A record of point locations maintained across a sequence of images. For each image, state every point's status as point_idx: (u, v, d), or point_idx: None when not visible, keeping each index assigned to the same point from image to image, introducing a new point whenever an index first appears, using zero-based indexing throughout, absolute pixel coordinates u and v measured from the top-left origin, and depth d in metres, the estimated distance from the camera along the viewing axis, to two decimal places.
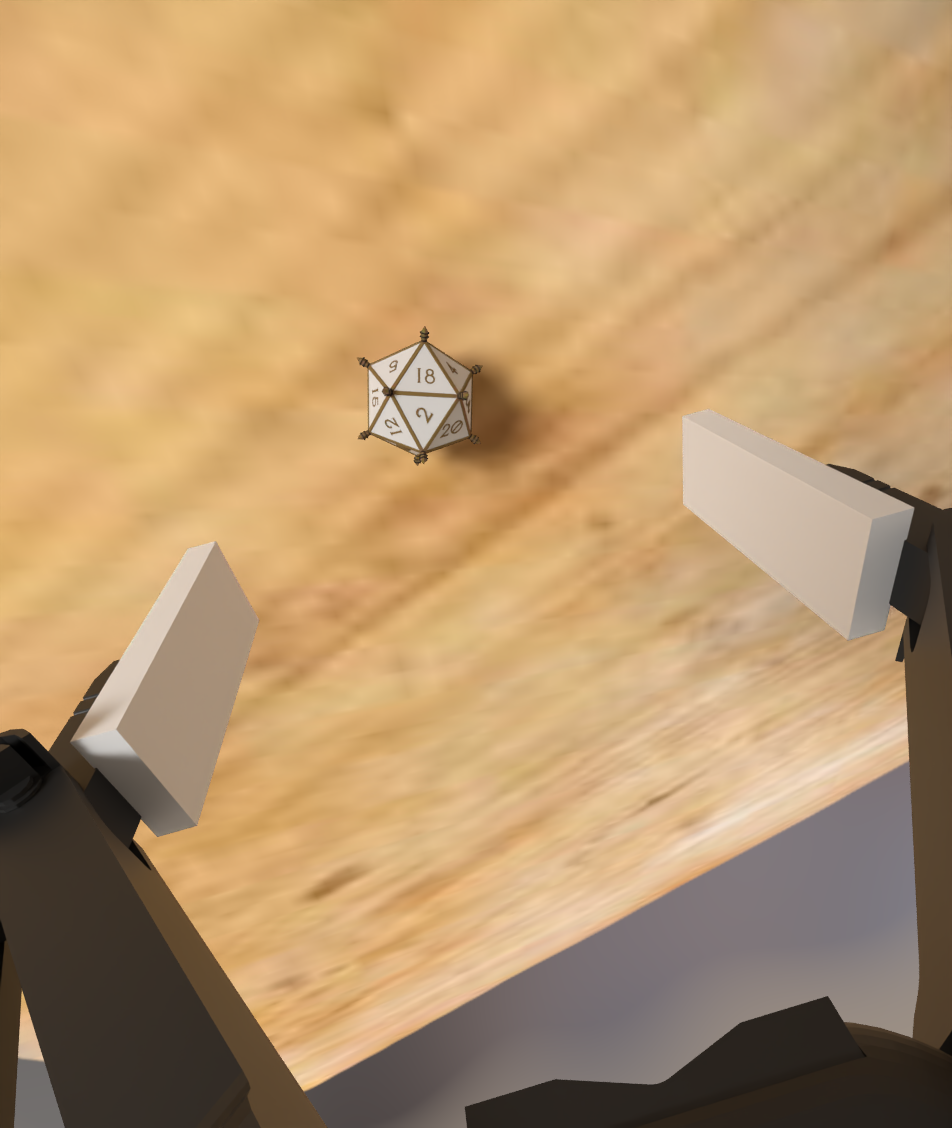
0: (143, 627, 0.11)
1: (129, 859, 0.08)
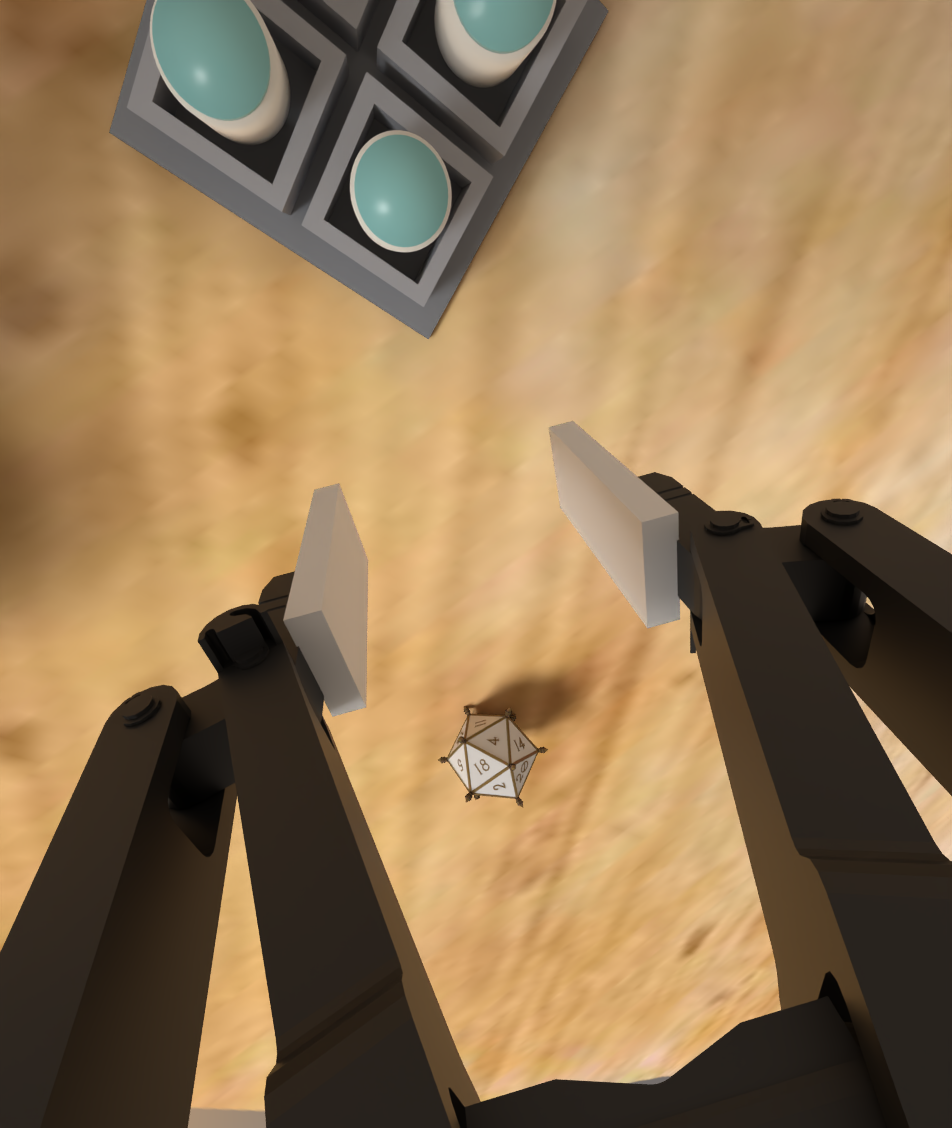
0: (302, 545, 0.13)
1: (323, 736, 0.09)
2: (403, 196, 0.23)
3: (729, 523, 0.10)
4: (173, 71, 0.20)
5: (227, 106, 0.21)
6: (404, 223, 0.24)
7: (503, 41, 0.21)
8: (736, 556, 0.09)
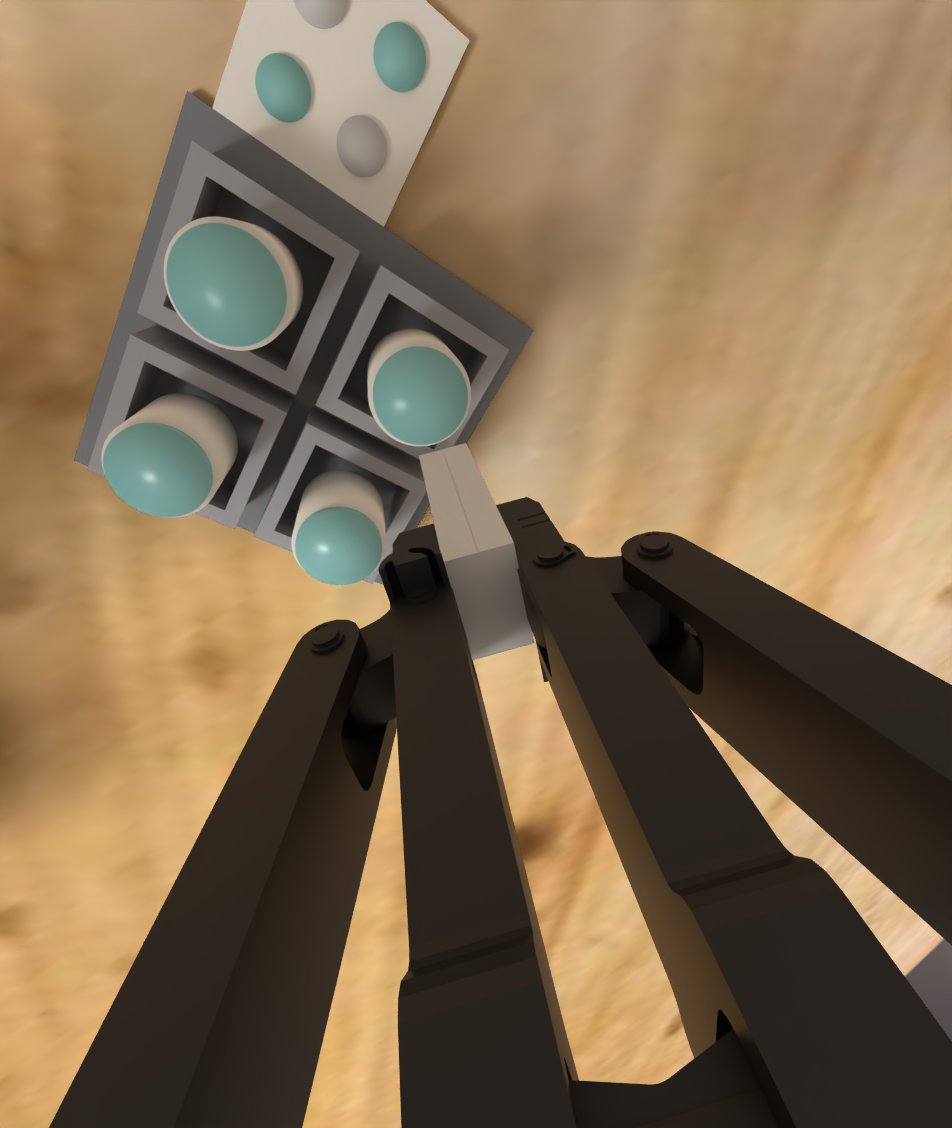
0: (429, 502, 0.14)
1: (475, 683, 0.09)
2: (340, 550, 0.26)
3: (554, 554, 0.10)
4: (124, 491, 0.22)
5: (174, 508, 0.23)
6: (343, 568, 0.26)
7: (423, 438, 0.24)
8: (565, 586, 0.10)
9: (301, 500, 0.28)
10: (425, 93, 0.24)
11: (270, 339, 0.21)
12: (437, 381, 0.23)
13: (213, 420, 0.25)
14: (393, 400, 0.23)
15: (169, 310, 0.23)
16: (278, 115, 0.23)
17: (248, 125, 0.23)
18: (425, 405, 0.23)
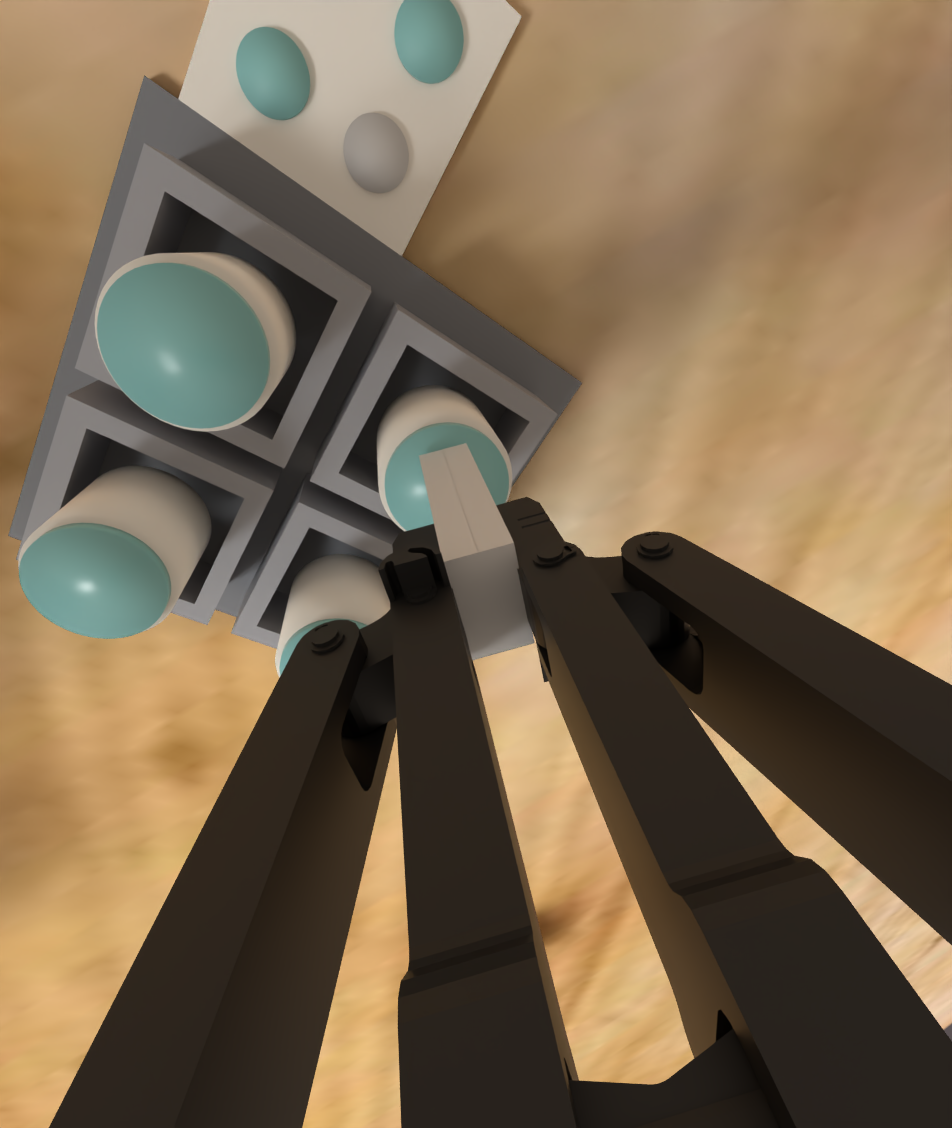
0: (429, 502, 0.14)
1: (475, 683, 0.09)
2: None
3: (554, 554, 0.10)
4: (50, 608, 0.17)
5: (119, 628, 0.18)
6: None
7: None
8: (566, 586, 0.10)
9: (290, 595, 0.22)
10: (461, 85, 0.18)
11: (247, 416, 0.15)
12: None
13: (176, 505, 0.19)
14: (411, 490, 0.17)
15: None
16: (267, 111, 0.18)
17: (227, 123, 0.18)
18: None
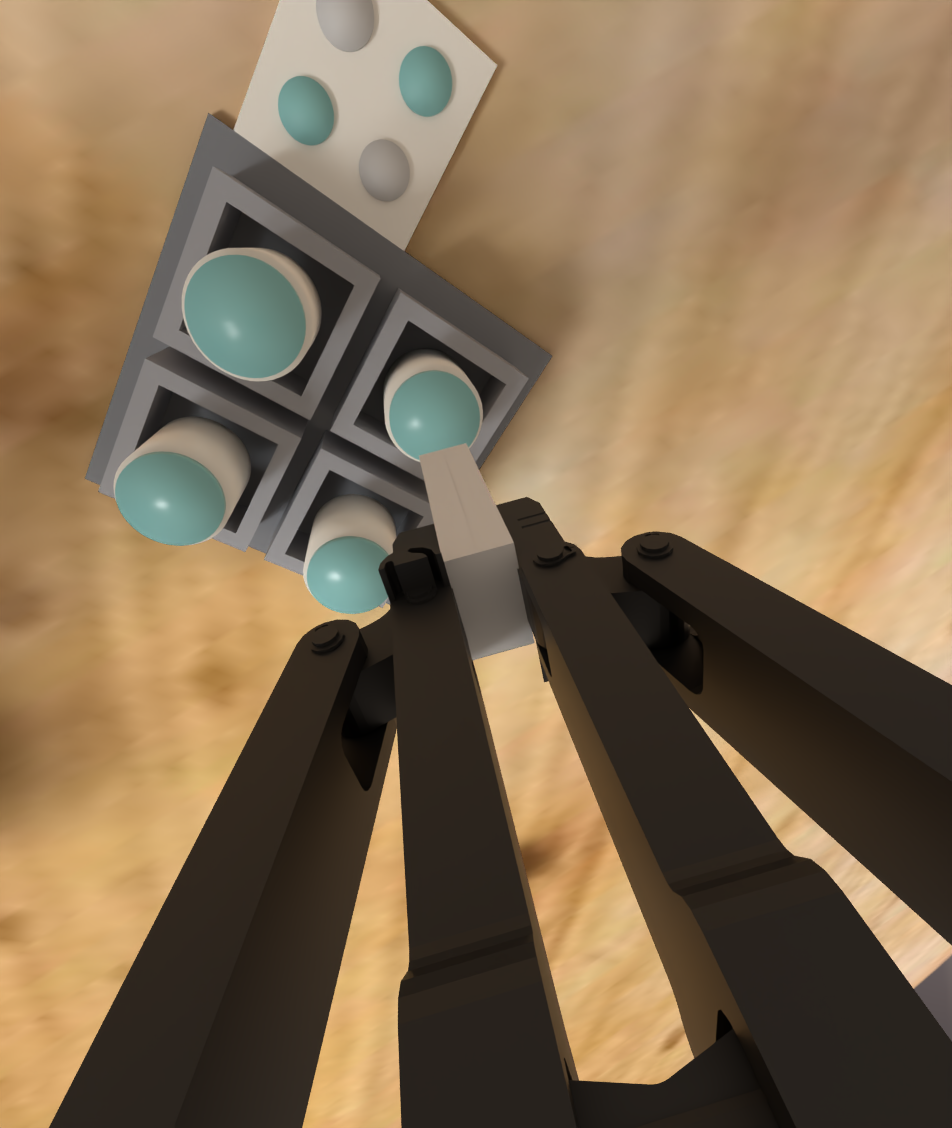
0: (429, 502, 0.14)
1: (475, 683, 0.09)
2: (353, 580, 0.25)
3: (554, 554, 0.10)
4: (135, 519, 0.22)
5: (186, 537, 0.23)
6: (354, 597, 0.26)
7: None
8: (565, 586, 0.10)
9: (313, 525, 0.27)
10: (450, 118, 0.23)
11: (288, 370, 0.21)
12: (451, 403, 0.24)
13: (227, 446, 0.24)
14: (408, 420, 0.24)
15: (185, 334, 0.23)
16: (300, 139, 0.23)
17: (269, 148, 0.23)
18: (439, 426, 0.24)
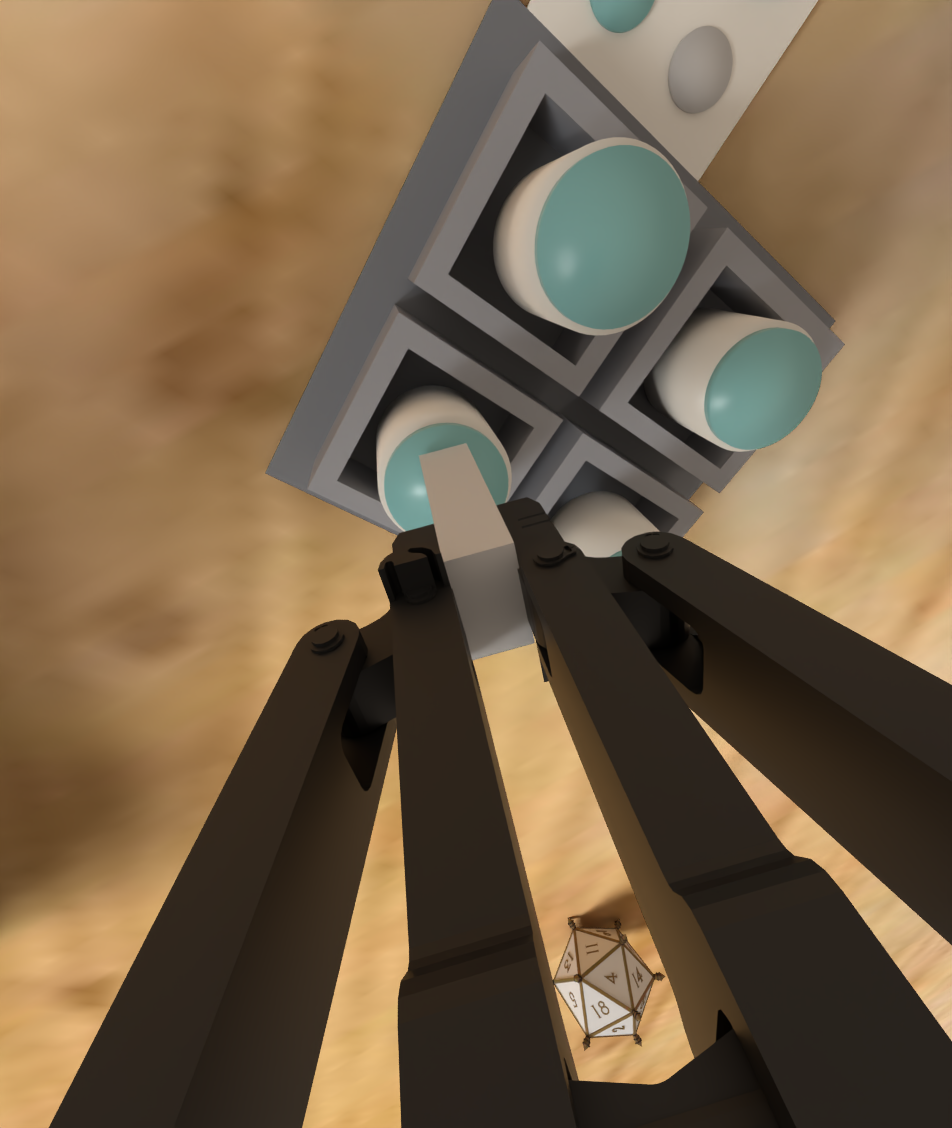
0: (429, 502, 0.14)
1: (475, 682, 0.09)
2: None
3: (554, 554, 0.10)
4: (401, 510, 0.17)
5: None
6: None
7: (752, 442, 0.19)
8: (566, 586, 0.10)
9: (562, 530, 0.22)
10: None
11: (637, 320, 0.15)
12: (791, 372, 0.18)
13: (484, 420, 0.20)
14: (734, 394, 0.18)
15: (454, 280, 0.17)
16: (607, 23, 0.17)
17: (566, 35, 0.17)
18: (768, 401, 0.19)
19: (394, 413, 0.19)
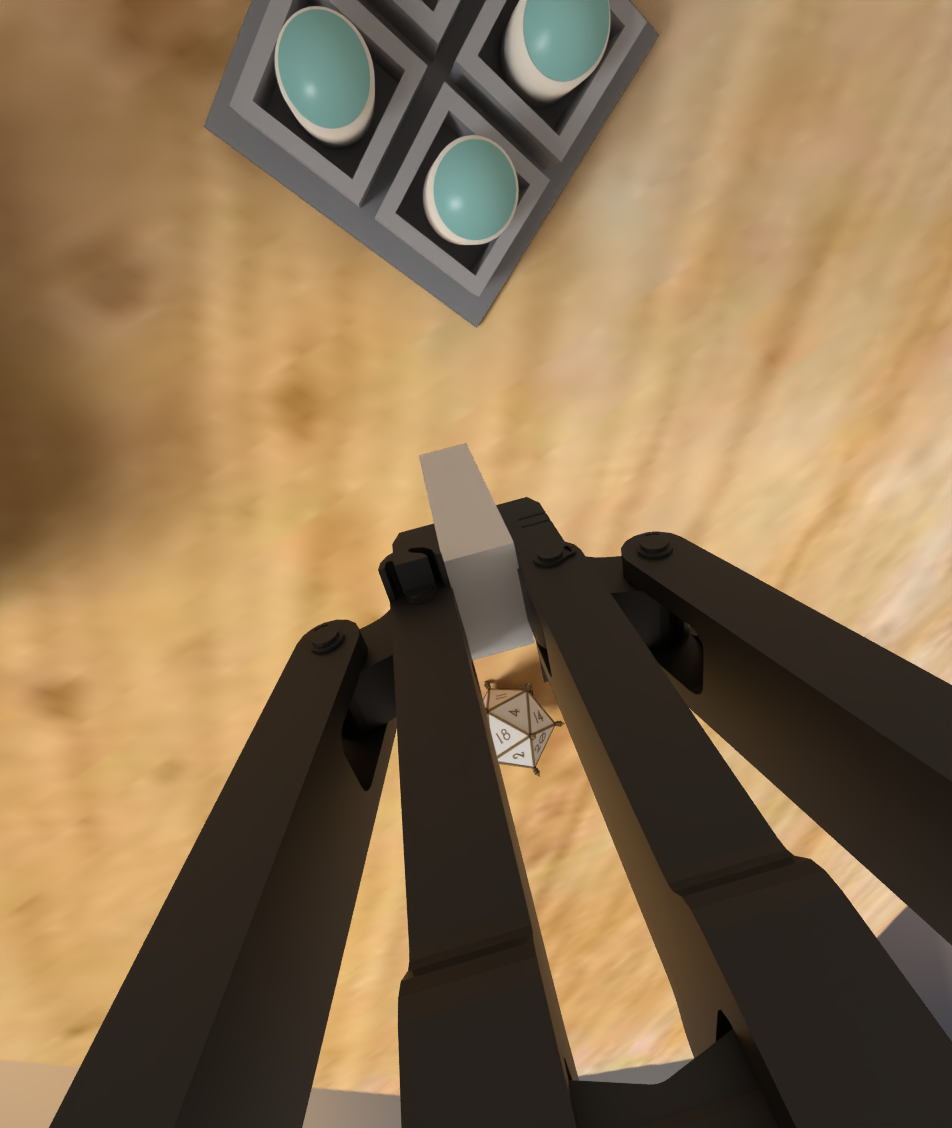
0: (429, 502, 0.14)
1: (475, 683, 0.09)
2: (476, 194, 0.26)
3: (554, 554, 0.10)
4: (291, 86, 0.24)
5: (332, 117, 0.25)
6: (475, 218, 0.27)
7: (563, 72, 0.26)
8: (566, 586, 0.10)
9: (430, 168, 0.28)
10: None
11: None
12: (584, 4, 0.25)
13: None
14: (543, 20, 0.25)
15: None
16: None
17: None
18: (570, 31, 0.25)
19: None
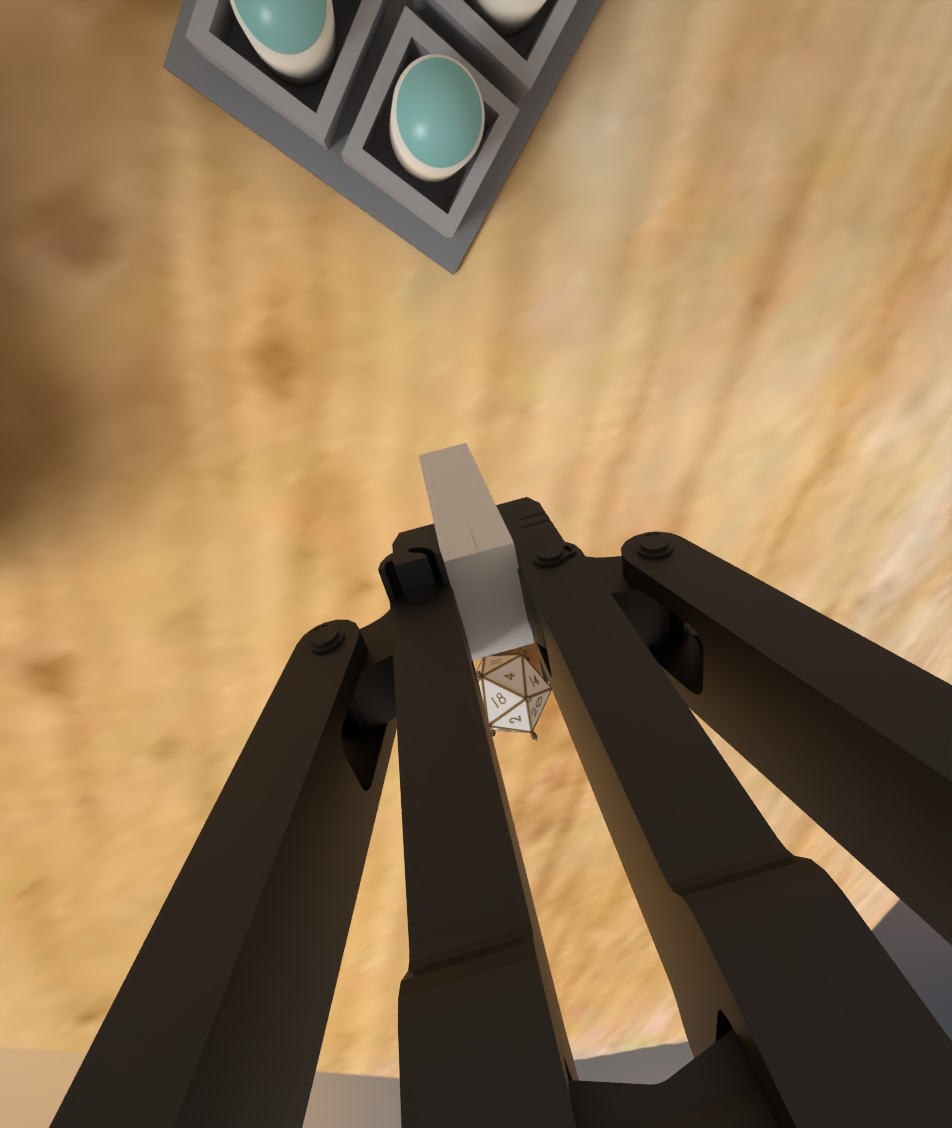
0: (429, 502, 0.14)
1: (475, 683, 0.09)
2: (441, 117, 0.25)
3: (554, 554, 0.10)
4: (245, 9, 0.24)
5: (289, 41, 0.24)
6: (441, 144, 0.26)
7: None
8: (565, 586, 0.10)
9: None
10: None
11: None
12: None
13: None
14: None
15: None
16: None
17: None
18: None
19: None
